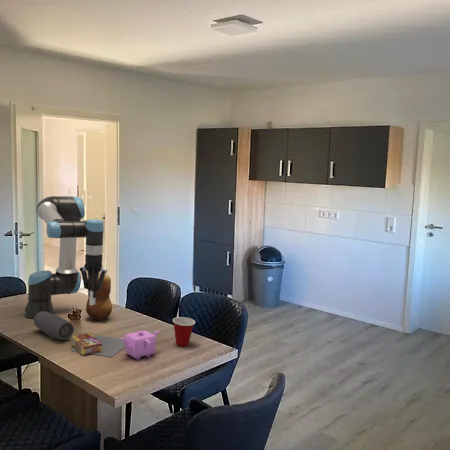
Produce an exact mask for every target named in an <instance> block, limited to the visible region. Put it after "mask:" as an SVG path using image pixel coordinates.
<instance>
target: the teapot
mask: <svg viewBox="0 0 450 450" xmlns="http://www.w3.org/2000/svg"><path fill="white" fill-rule="evenodd" d="M159 332H160V330H156V331H154V333H151V332H149V331H148V330H139V331H135V332H134V331H133V332H129V333H125V335H124V337H121V338H119V339H123V340H124V343H125V348H124V352H125V353H126V354H128V355H129V356H131V357H132V358H134V359H135V360H140V359H141V357H145V358H146V357H147V358H150V357H151V355H154V354H156V347H157V343H156V342H157V335H158V333H159Z"/></svg>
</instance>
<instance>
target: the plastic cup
mask: <svg viewBox="0 0 450 450" xmlns="http://www.w3.org/2000/svg"><path fill="white" fill-rule="evenodd" d="M172 323H173V328H174V337H175V345H176V346H177V347H180V346H181V348H185V347H188V346H189V344H190V341H191V336H192V333H193V328H194V325H195V324H196V321H195V320H194V319H193V318H190V317H185V316H178V317H174V318H172Z"/></svg>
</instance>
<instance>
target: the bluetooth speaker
mask: <svg viewBox="0 0 450 450" xmlns="http://www.w3.org/2000/svg"><path fill="white" fill-rule="evenodd" d="M33 324H34V326H36V328H37V329H39V330H40V331H42V332H44V333H45V334H46V335H47V336H49V337H50V338H52V339H55V340H62V341H65V340H69V339H70V338H72V336H74V332H75V329H74V326H73V323H72V322H70V321H68V320H66V319H65V318H63V317H61V316H60V315H56V314H55V313H54V314H52V313H49V312H45V311H41V312H39V313H37V315H36V316H35V318H34V319H33Z"/></svg>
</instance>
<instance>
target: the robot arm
mask: <svg viewBox="0 0 450 450" xmlns="http://www.w3.org/2000/svg"><path fill="white" fill-rule="evenodd" d="M35 211H36V214H37V216H38V218H40V219H41V220H42V221H44V223H45V224H46V236H47V237H48V238H49V239H59V255H58V267H56V269H55V272H54V273H53V272H52V271H51V270H40V271H36V272H33V273H30V274H29V276H28V279H27V280H28V283H27V284H28V290H27V293H28V294H27V303H26V307H25V309H24V313H23V315H24V317H25V318H27V319H33V320H34V318H35V316H36V315H37V313H39V312H41V311H45V312H49V313H52V314H54V315H55V309H54V304H53V303H52V296H57V295H58V296H59V295H71V294H77V292H79V290H80V288H81V284H82V282H83V288H84V289H85V290H87V298H89V297H90V299H89V305H94V304H95V298H96V297H97V291H98V290H100V289H101V288H102V284H103V281H104V277H105V274H106V275H107V273H108V270H107V269H105V268H104V266H103V252H104V251H103V249H104V248H103V247H104V245H103V243H104V230H105V228H104V221H103V220H101V219H99V218H98V219H94V218H92V219H88V220H82V219H84V218H85V216H86V214H85V212H86V211H85V204H84V201H83V199H82V198H81V197H79V196H72V195H71V196H68V195H67V196H66V195H65V196H63V195H61V196H60V195H59V196H52V195H51V196H47V197H45V198H43V199H41V200H40V201H39V202H38V204H37V206H36V210H35ZM79 238H85V254H84V256H85V258H84V262H85V263H84V266H81V267H79V269H78V268H76V261H77V257H76V256H77V245H78V244H77V241H78V239H79ZM99 273H101V274H100V278H99V281H98V276H99ZM81 278H82V279H81ZM92 289H93V290H92Z"/></svg>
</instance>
